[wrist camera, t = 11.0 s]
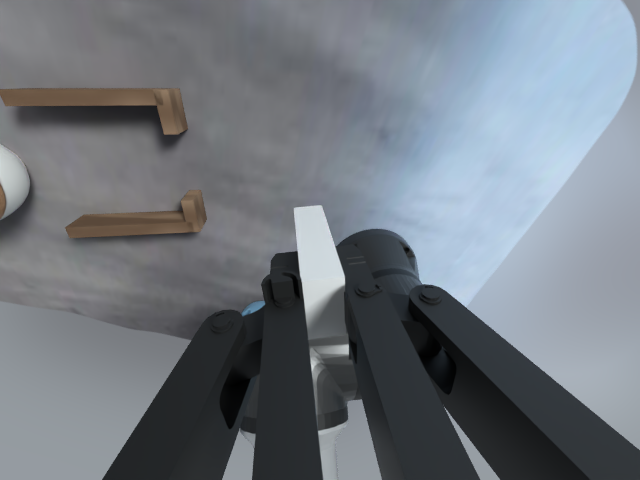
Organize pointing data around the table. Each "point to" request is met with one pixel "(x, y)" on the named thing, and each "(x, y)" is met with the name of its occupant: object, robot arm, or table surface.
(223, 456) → the robot arm
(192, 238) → the table surface
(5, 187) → the lidded jar
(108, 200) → the table surface
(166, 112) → the cradle
